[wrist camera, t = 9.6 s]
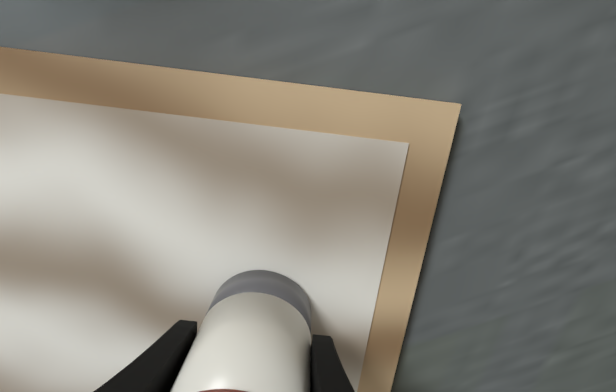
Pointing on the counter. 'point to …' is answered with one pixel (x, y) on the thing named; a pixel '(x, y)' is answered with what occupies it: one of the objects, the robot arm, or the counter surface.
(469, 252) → the counter surface
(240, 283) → the marker
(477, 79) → the counter surface
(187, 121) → the clipboard
